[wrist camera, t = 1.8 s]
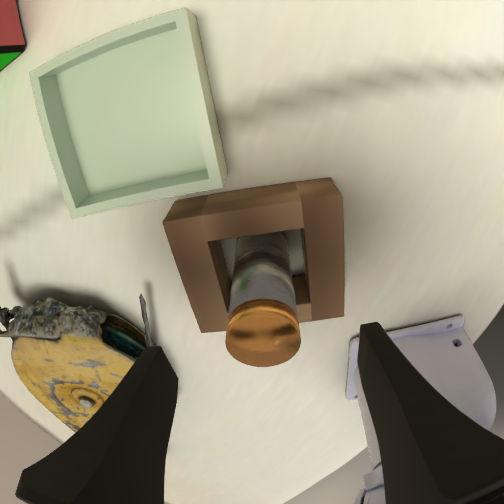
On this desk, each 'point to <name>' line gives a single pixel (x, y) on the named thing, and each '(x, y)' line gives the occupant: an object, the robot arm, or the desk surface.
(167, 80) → the tray
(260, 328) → the copper topped cylinder
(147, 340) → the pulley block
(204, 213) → the brown wooden square frame
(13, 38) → the puzzle cube
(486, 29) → the desk surface
